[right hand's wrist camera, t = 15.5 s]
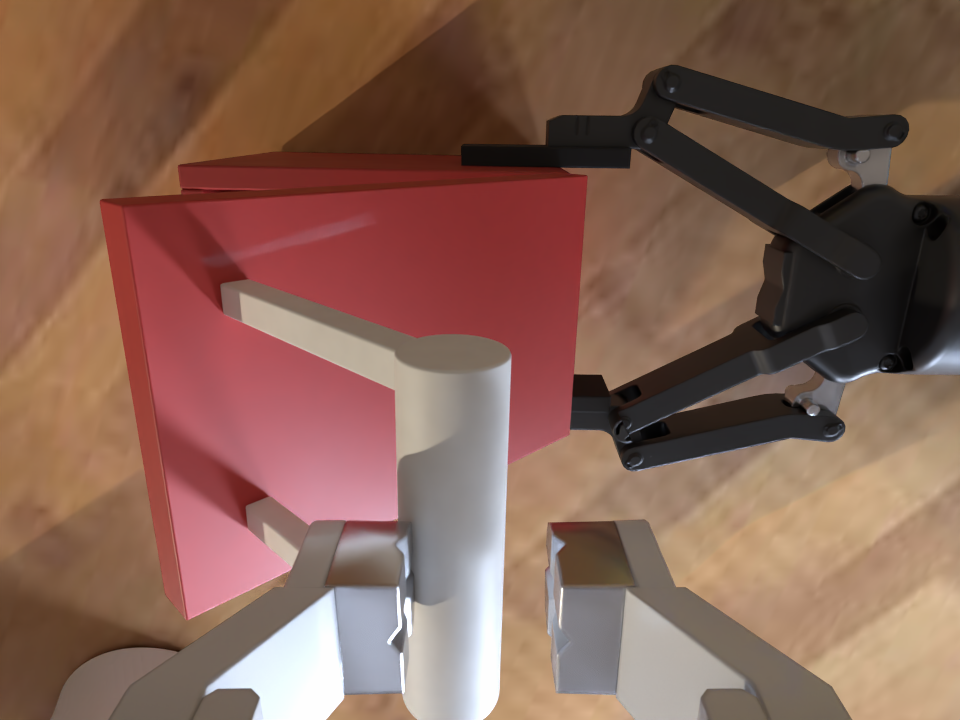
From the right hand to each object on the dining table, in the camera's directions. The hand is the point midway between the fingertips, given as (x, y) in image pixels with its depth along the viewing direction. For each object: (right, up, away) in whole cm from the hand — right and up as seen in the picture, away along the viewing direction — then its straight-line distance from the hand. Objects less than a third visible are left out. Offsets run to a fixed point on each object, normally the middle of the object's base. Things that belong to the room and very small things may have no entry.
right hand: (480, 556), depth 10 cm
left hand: (-1, +6, +18) cm, 20 cm away
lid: (-3, +3, +9) cm, 10 cm away
